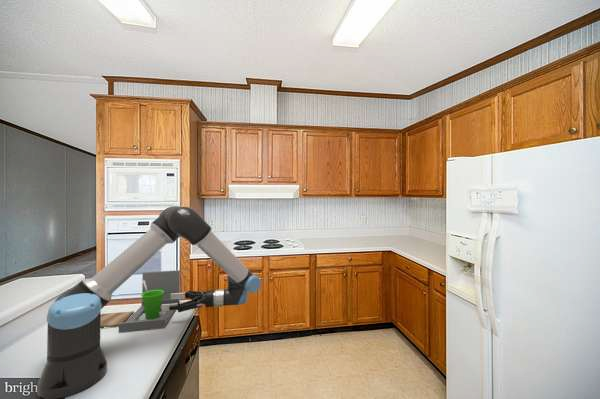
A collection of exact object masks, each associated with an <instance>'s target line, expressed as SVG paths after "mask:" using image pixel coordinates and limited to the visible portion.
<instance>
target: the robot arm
mask: <svg viewBox="0 0 600 399" xmlns="http://www.w3.org/2000/svg"><path fill="white" fill-rule="evenodd" d="M179 238H183V239H184V240H186V241H187V242H188V243H190V245H192V246H197V247H198V248H199V249H200V251H202V253H204V254H206V256H207V257H208V258H210V259H211V261H213V262H214V263H215V264H216V265H217V267H219V268H220V269H221V270H222V271H223V272H225V274H226V275H227V288H226V289H225V288H224V289H223V288H222V289H215V290H214V289H212V290H211V289H210V290H206V291H198V290H187V291H185V292H180V293H172V294H171V300H173V299H180V300H184V299H185V300H187V299H190V300H187V301H184V302H180V303H175V304H162V311H164V312H167V311H172V310H176V311H177V312H178V313H182V312H186V311H189V310H194V309H200V308H202V307H203V305H205V306H204V307H205V308H213V307H220V308H222V307H225V306H238V305H239V306H240V305H245V304H247V303H248V293H249V294H255V293H257V292H258V291H260V288H261V286H262V280H261V278H260V277H259V276H257V275H256V274H253V273H252V271H250V270H249V269H248V268H247V266H246V265H245V264H243V262H242V261H241V260H240V259H238V257H237V256H236V255H235V254H234V253H233V252H232V251H231V250H230V249H229V248H228V247H227V246H226V245H225V244H224V242H222V241H221V240H220V239H219V238H218V236H216V235H215V234H214V232H212V227H211V225H209V223H208V222H207V221H206V220H205V219H204V218H203V217H202V216H201V215H200V214H199V213H198V211H196V210H195V209H193V208H191V207H188V206H178V205H173V206H169V207H166V208H165V209H163V210H162V211H161V212H160V213H159V215H158V217H157V218H156V219H154V221H152V222H151V223H150V228H149V230H147V231H146V232H145V233H144V234H143V235H141V236H140V237H139V238H137V240H135V241H134V242H133V243H131V245H129V246H128V247H127V248H126V249H125V250H123V252H121V253H120V254H118V256H116V257H115V258H114V259H113V260H111V261H110V262H109V263H108V264H107V265H105V267H103V268H102V269H101V270H100V271H98V272H97V273H96V274H94V275H93V277H91V278H84V279H82V280H81V281H79V282H78V283H76V285H74V286H73V287H72V288H69V289H67V290H65V291H64V292H62V293H61V294H59V296H58V297H56V299H55V301H54V302H52V304H50V306H49V307H48V311H47V315H46V322H47V332H46V333H47V335H46V336H47V337H46V338H47V339H46V341H47V342H46V344H47V346H46V348H47V349H46V363H45V365H44V367H43V370H42V373H41V375H40V377H39V380H38V382H37V389H36V392H37V394H36V395H37V397H38V398H40V397H43V398H44V399H62V398H65V397H69V396H72V395H73V396H74V394H78V393H80V392H83V391H84V390H87V389H88V388H90V387H92V386H93V385H95V384H96V383H97V382H99V381H100V380H101V379H102V378H103V377H104V376H105V375H106V373H107V371H108V361H107V360H108V359H107V358H106V356H105V354H104V352H103V349H102V347H101V329H100V323H101V315H102V314H101V313H102V312H101V311H102V309H103V308H104V307H105V306H107V305H108V304H109V303H110V302H111V301H112V297H113V293H114V292H116V291H117V290H118V289H119V288H120V287H121V286H122V285H123V284H124V283H125V282H126V281H127V280H129V279H130V278H131V276H133V275H134V274H136V272H137V271H139V269H141V268H142V267H143V266H145V264H146V263H147V262H148V261H149V260H151V259H152V258H153V257H154V256H155V255H157V253H158V252H160V250H162V249H163V248H164V247H165V246H167V244H168V245H169V244H174V243H175V242H176V241H178V239H179Z"/></svg>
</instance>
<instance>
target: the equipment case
mask: <svg viewBox="0 0 600 399" xmlns="http://www.w3.org/2000/svg"><path fill="white" fill-rule="evenodd" d="M141 280H142V283H141V284H142V285H141V287H142V289H141V290H142V293H141V295H142V294H143V293H144V292H147V291H151V290H163V291H164V293H163V297H162V302H161V308H160V313H163V312H165V313H164V315H163V316H162V317H161V318H160V317H158V318H156V319H140V318H141V317H142V316H143V315H144V314H145V310H144V304H143V299H142V298H141V299H142V300H141V306H139V307H138V309H137V310H136V311H134V314H133V315H132V316H131V317H130V318H129V319H128V320H127V321H126V322H124V323H119V327H118V333H129V332H137V331H146V330H147V331H149V330H158V329H166V327H167V325H168V324H169V322H170V321H171V319H172V318H173V316H174V314H175V312H176V311H177V310H172V311H162V304H175V303H180V304H181V299H173V300H171V294H172V293H181V270H179V269H177V270H162V271H161V270H160V271H159V270H158V271H143V272H142V279H141ZM143 313H144V314H143ZM142 314H143V315H142ZM141 315H142V316H141ZM140 316H141V317H140ZM139 317H140V318H139ZM139 319H140V320H139Z"/></svg>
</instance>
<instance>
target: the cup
mask: <svg viewBox="0 0 600 399" xmlns="http://www.w3.org/2000/svg"><path fill="white" fill-rule="evenodd" d="M163 293H164V291H163V290H151V291H147V292H144V293H143V294H142V293H141V295H140V296H141V299H143V304H144V310H145V313H144V316H145V320H147V319H158V318H159V317H160V313H161V312H160V308H161V302H162V297H163Z"/></svg>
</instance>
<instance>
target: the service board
mask: <svg viewBox="0 0 600 399" xmlns="http://www.w3.org/2000/svg"><path fill="white" fill-rule="evenodd" d="M133 313H135V311H122V312H121V311H120V312H110V313H109V312H108V313H102V314H101V323H100V328H101V329H105V328H104V327H111V328H119V323H124V322H125V321H126V320H127V319H128V318H129V317H130V316H131V315H132V314H133ZM117 326H118V327H117Z"/></svg>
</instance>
